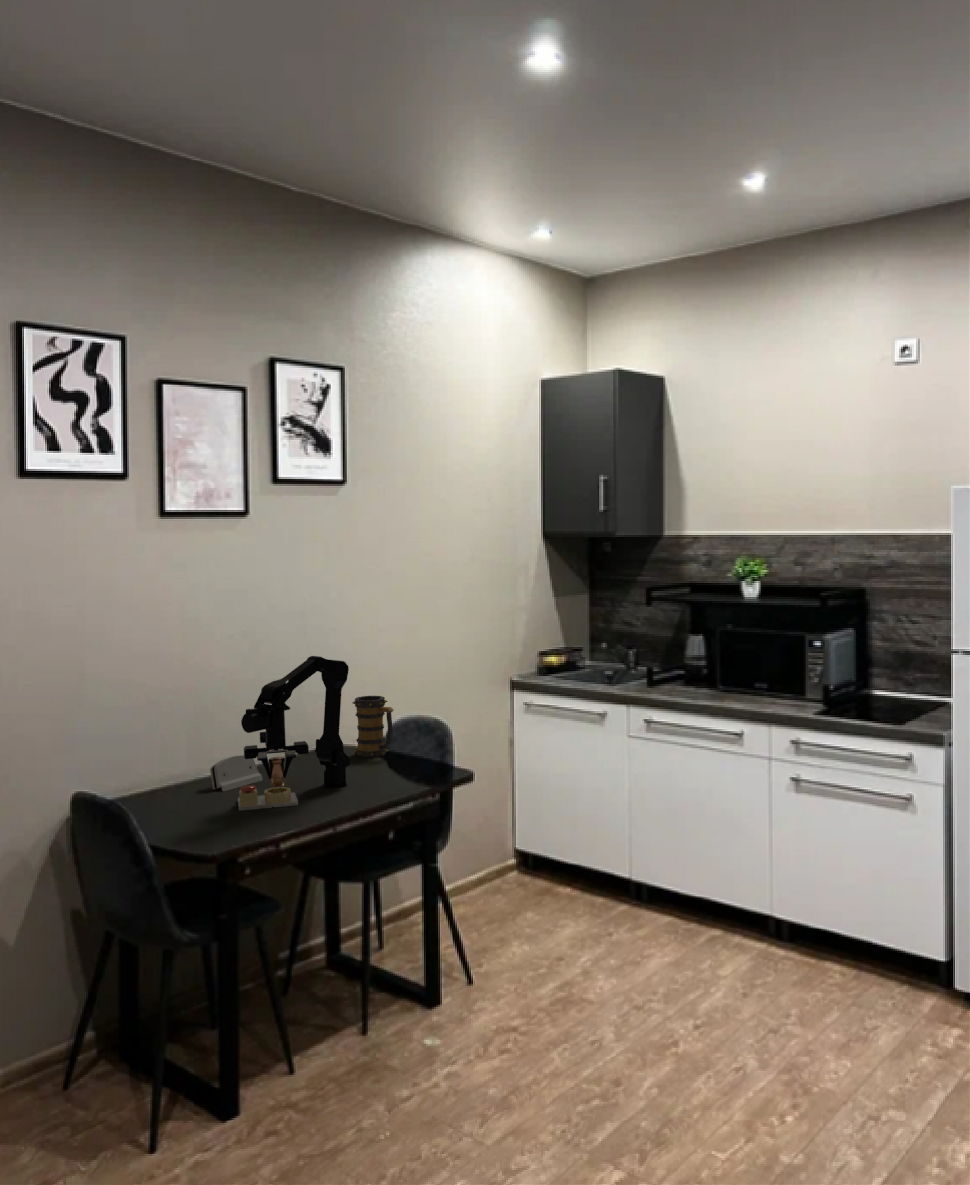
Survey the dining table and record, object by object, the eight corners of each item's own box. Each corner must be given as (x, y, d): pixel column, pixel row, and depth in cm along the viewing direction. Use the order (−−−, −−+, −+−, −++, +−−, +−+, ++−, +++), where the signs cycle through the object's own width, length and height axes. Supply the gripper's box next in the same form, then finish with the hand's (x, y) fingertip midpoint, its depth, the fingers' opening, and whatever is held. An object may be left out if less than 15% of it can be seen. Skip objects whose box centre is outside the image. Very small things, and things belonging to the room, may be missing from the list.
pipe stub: (284, 782, 311) (283, 756, 310) (285, 786, 306) (284, 759, 306) (269, 783, 310) (268, 757, 309) (270, 787, 305) (269, 761, 305)
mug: (370, 747, 378) (368, 693, 376) (406, 753, 367) (404, 698, 366) (345, 755, 367) (343, 699, 366) (381, 761, 357) (380, 703, 356)
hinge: (222, 791, 321) (214, 760, 323) (213, 794, 324) (205, 763, 326) (263, 779, 335) (255, 750, 336) (254, 782, 338) (247, 753, 339)
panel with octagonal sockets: (294, 795, 315) (294, 778, 315) (298, 805, 304) (297, 787, 304) (237, 800, 310) (237, 783, 310) (239, 810, 300) (238, 792, 300)
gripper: (304, 719, 317) (306, 769, 318) (241, 723, 312) (244, 774, 313) (308, 726, 306) (309, 778, 307) (243, 731, 301) (245, 783, 302)
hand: (277, 778), depth 308 cm, fingers closed on pipe stub, 4 cm apart
